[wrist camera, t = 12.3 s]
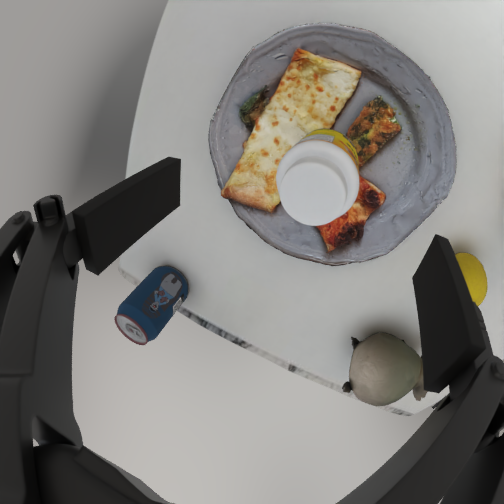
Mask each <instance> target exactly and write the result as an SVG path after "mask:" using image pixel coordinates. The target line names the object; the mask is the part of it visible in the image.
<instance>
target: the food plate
mask: <svg viewBox="0 0 504 504" xmlns="http://www.w3.org/2000/svg"><path fill="white" fill-rule="evenodd" d="M253 47H254V46H253ZM253 47H252V48H253ZM249 52H250V51H249ZM247 55H248V54H247ZM247 55H246V56H245V58H246V59H245V58H244V60H243V61H244V62H243V61H242V63H243V64H242V63H241V64H242V65H241V64H240V66H241V67H240V66H239V68H238V69H239V70H238V69H237V71H238V72H237V71H236V73H235V75H234V76H233V78H232V80H231V82H230V83H229V85H228V87H227V89H226V91H225V93H224V95H223V97H222V98H221V100H222V101H221V100H220V102H221V103H220V102H219V104H220V105H219V104H218V106H217V109H216V110H217V111H216V113H214V117H213V119H214V120H212V119H211V121H210V128H209V147H210V154H211V158H212V161H213V164H214V167H215V171H216V175H217V179H218V185H219V187H220V189H221V196H222V197H223V198H225V199H228V200H229V201H230V203H231V205H232V207H233V209H234V211H235V212H236V214H237V215H238V217H239V218H240V219H242V220H243V221H244V222H245V223H246V225H247V226H248V227H249V228H250V229H253V231H254V232H255V233H257V234H258V236H259V237H260V238H261V239H263V240H264V241H265V242H266V243H268V244H270V245H271V246H273V247H274V248H276V249H278V250H280V251H282V252H283V253H286V254H288V255H290V256H294V257H296V258H300V259H304V260H309V261H313V262H317V263H322V264H325V265H331V266H339V265H346V264H347V263H348V264H350V263H352V262H353V263H354V262H359V263H361V262H364V261H367V260H372V259H373V258H376V257H379V256H383V255H386V254H388V253H389V252H390V251H392V250H393V249H394V248H396V247H397V246H398V245H399V244H400V243H401V242H402V241H403V240H404V239H405V238H406V237H408V235H410V234H411V233H412V232H413V230H415V229H416V228H417V227H418V226H419V225H420V224H421V223H422V221H424V220H425V219H426V218H428V217H429V215H431V213H432V212H433V211H434V210H435V209H436V208H437V204H439V203H440V204H441V203H442V202H443V201H442V200H444V199H445V198H446V197H447V196H448V194H449V191H450V189H451V187H452V184H453V182H454V177H455V173H456V163H457V161H456V145H455V144H456V143H455V137H454V133H453V130H452V124H451V119H450V116H449V114H448V113H449V112H448V109H447V107H446V104H445V103H444V101H443V98H442V97H441V95H440V93H439V92H438V90H437V89H436V87H435V86H434V84H433V82H432V81H431V79H430V77H429V76H427V75H426V74H425V73H424V72H423V70H422V69H420V68H419V66H418V65H417V64H416V63H414V62H413V61H412V60H411V59H410V58H408V57H407V56H406V55H405V54H403V53H402V52H401V51H399V50H398V49H397V48H395V47H394V46H393V45H391V44H390V43H388V42H387V41H386V40H384V39H383V38H382V37H380V36H378V35H377V34H375V33H373V32H371V31H369V30H368V31H367V30H364V29H359V28H354V27H348V26H346V27H345V26H342V25H338V24H332V23H331V24H325V23H324V24H322V23H317V24H305V25H299V26H295V27H292V28H289V29H286V30H283V31H282V32H278V33H276V34H275V35H273V36H272V37H271V38H269V39H267V40H265V41H264V42H262V43H260V44H258V45H257V46H255V47H254V49H252V51H251V53H250V54H249V55H248V56H249V57H248V56H247ZM324 128H327V129H333V130H336V131H339V132H341V133H343V134H344V135H345V136H347V137H348V138H349V139H350V141H351V142H352V143H353V145H354V147H355V149H356V152H357V156H358V165H359V191H358V195H357V198H356V200H355V202H354V204H353V205H352V207H351V208H350V209H349V210H348V211H347V212H346V213H344V214H343V215H341V216H340V217H338V218H336V219H334V220H333V221H331V222H330V223H327V224H324V225H319V226H310V225H306V224H303V223H300V222H298V221H296V220H295V219H293V218H292V217H291V216H290V215H289V214H288V213H287V212H286V210H285V209H284V207H283V206H282V203H281V200H280V195H279V192H278V189H277V184H276V174H277V169H278V166H279V163H280V161H281V159H282V158H283V156H284V155H285V154H286V153H287V152H288V151H289V150H290V149H291V148H292V147H293V146H294V145H295V144H296V143H298V142H299V141H300V140H301V139H302V138H303V137H305V136H306V135H307V134H308V133H310V132H312V131H314V130H317V129H324ZM441 201H442V202H441Z"/></svg>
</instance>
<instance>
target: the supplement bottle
mask: <svg viewBox="0 0 504 504" xmlns="http://www.w3.org/2000/svg"><path fill="white" fill-rule="evenodd" d="M276 184H277V189H278V192H279V195H280V200H281V203H282V206H283V207H284V209H285V210H286V212H287V213H288V214H289V215H290V216H291V217H292V218H293V219H295V220H296V221H298V222H300V223H303V224H306V225H310V226H319V225H324V224H327V223H330V222H331V221H333V220H334V219H336V218H338V217H340V216H341V215H343V214H344V213H346V212H347V211H348V210H349V209H350V208H351V207H352V205H353V204H354V202H355V200H356V198H357V195H358V191H359V165H358V156H357V152H356V149H355V147H354V145H353V143H352V142H351V141H350V139H349V138H348V137H347V136H345V135H344V134H343V133H341V132H339V131H336V130H333V129H327V128H324V129H317V130H314V131H312V132H310V133H308V134H307V135H306V136H305V137H303V138H302V139H301V140H300V141H299V142H298V143H296V144H295V145H294V146H293V147H292V148H291V149H290V150H289V151H288V152H287V153H286V154H285V155H284V156H283V158H282V159H281V161H280V163H279V166H278V169H277V174H276Z"/></svg>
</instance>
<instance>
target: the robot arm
mask: <svg viewBox="0 0 504 504" xmlns="http://www.w3.org/2000/svg"><path fill="white" fill-rule="evenodd" d="M180 170H181V159H178V158H173V157H167V158H165V159H163V160H161V161H159V162H157V163H155V164H153V165H151V166H149V167H148V168H146V169H144V170H142V171H140V172H138V173H136V174H134V175H132V176H131V177H129V178H127V179H125V180H123V181H122V182H120V183H118V184H116V185H115V186H113V187H111V188H109V189H108V190H106V191H105V192H103V193H101V194H99V195H97V196H95V197H94V198H93V199H91V200H89V201H87V202H86V203H84V204H83V205H81V206H79V207H78V208H76V209H75V210H73V211H72V212H70V213H69V214H67V215H65V211H64V206H63V201H62V197H61V196H60V195H50V196H46V197H44V198H42V199H40V200H38V201H37V202H36V203H35V204H34V205H33V206H34V210H35V214H36V217H37V221H38V222H33V220H32V216H31V213H30V212H29V211H23V212H22V211H20V212H18V213H16V214H15V215H13V216H12V217H11V218H9V219H8V221H7V222H6V223H5V224H4V225H3V226H2V228H1V229H0V504H174V503H170V502H167V501H165V500H164V499H163V498H161V497H160V496H159V495H157V493H155V492H154V491H153V490H152V489H151V488H149V487H148V486H147V485H146V484H145V483H143V482H142V481H141V480H140V479H138V478H136V477H135V476H133V475H131V474H130V473H128V472H126V471H125V470H123V469H121V468H120V467H118V466H116V465H115V464H113V463H112V462H110V461H108V460H106V459H105V458H103V457H101V456H99V455H98V454H96V453H95V452H93V451H91V450H90V449H88V448H87V447H85V446H83V442H82V436H81V432H80V429H79V426H78V424H77V422H76V420H75V417H74V413H73V400H72V337H73V321H74V308H75V299H76V291H77V283H78V275H79V265H78V262H79V261H80V260H81V259H82V258H83V260H84V263H85V267H86V269H87V270H89V271H90V272H93V273H94V274H96V275H99V274H100V273H101V272H102V271H103V270H105V269H106V268H107V267H108V266H109V265H110V264H111V263H112V262H113V261H115V260H116V259H117V258H118V257H119V256H120V255H121V254H122V253H124V252H125V251H126V250H127V249H128V248H129V247H130V246H132V245H133V244H134V243H135V242H136V241H137V240H139V239H140V238H141V237H142V236H143V235H144V234H146V233H147V232H148V231H149V230H150V229H152V228H153V227H154V226H155V225H156V224H158V223H159V222H160V221H161V220H163V219H164V218H165V217H166V216H167V215H169V214H170V213H171V212H172V211H174V210H175V209H176V208H177V207H179V206H180ZM15 250H16V253H17V255H18V258H19V263H18V264H16V263H15V261H14V258H13V253H14V252H15ZM412 279H413V285H414V291H415V297H416V304H417V311H418V319H419V327H420V337H421V348H422V362H423V388H424V390H425V391H430V392H436V393H440V392H441V391H442V390H443V389H444V388H445V387H447V386H448V385H449V390H450V393H449V394H448V395H447V396H445V397H444V398H443V399H442V400H440V401H439V402H438V403H436V404H435V405H434V406H433V407H432V408H433V409H434V408H435V407H436V409H435V410H434V411H433V412H432V413H431V415H430V416H429V417H428V418H427V420H426V421H425V422H424V423H423V424H422V425H421V427H420V428H419V429H418V430H417V431H416V432H415V433H414V434H413V436H412V437H411V438H410V439H409V440H408V441H407V442H406V443H405V444H404V445H403V446H402V447H401V448H400V449H399V450H398V451H397V452H396V453H395V454H394V455H393V456H392V457H391V458H390V459H389V460H388V461H387V462H386V463H385V464H384V465H383V466H382V467H380V469H378V470H377V471H376V472H375V473H374V474H373V475H372V476H370V477H369V478H368V479H367V480H366V481H364V482H363V483H362V484H361V485H360V486H358V487H357V488H356V489H355V490H353V491H352V492H351V493H350V494H348V495H347V496H346V497H344V498H343V499H342V500H340V501H339V502H338V503H336V504H438V503H439V501H440V500H441V499H442V498H443V499H442V501H441V503H440V504H504V433H503V434H502V436H500V437H499V432H500V431H501V430H502V429H503V428H504V363H503V361H502V360H501V359H500V358H498V357H496V356H494V355H493V352H492V348H491V344H490V340H489V337H488V333H487V331H486V326H485V323H484V320H483V316H482V313H481V311H480V309H479V308H478V306H477V305H476V303H475V302H473V300H472V297H471V295H470V292H469V289H468V286H467V283H466V281H465V278H464V276H463V273H462V271H461V268H460V266H459V263H458V261H457V258H456V256H455V254H454V251H453V249H452V247H451V245H450V243H449V240H448V239H446V238H444V237H441V236H439V235H437V234H435V236H434V238H433V240H432V242H431V244H430V246H429V248H428V250H427V252H426V254H425V256H424V258H423V260H422V262H421V263H420V265H419V267H418V269H417V271H416V272H415V274H414V276H413V278H412ZM33 439H35V440H36V441H37V442H38V444H39V446H35V447H33ZM443 496H444V497H443Z"/></svg>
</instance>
